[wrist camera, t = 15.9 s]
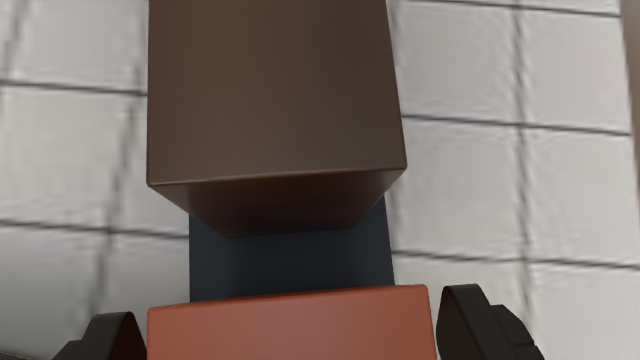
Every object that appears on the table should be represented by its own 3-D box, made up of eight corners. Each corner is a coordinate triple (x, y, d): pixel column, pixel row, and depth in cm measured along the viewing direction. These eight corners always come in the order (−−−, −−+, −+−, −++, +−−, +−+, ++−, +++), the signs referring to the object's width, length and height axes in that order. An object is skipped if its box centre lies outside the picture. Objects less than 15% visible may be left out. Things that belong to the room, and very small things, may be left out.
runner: (193, 498, 14) (191, 503, 13) (186, -176, 20) (185, -183, 20) (415, 474, 14) (417, 477, 14) (339, -179, 20) (339, -185, 20)
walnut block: (223, 238, 15) (144, 185, 7) (220, 115, 16) (147, -43, 9) (357, 228, 15) (415, 168, 8) (345, 108, 17) (384, -51, 9)
